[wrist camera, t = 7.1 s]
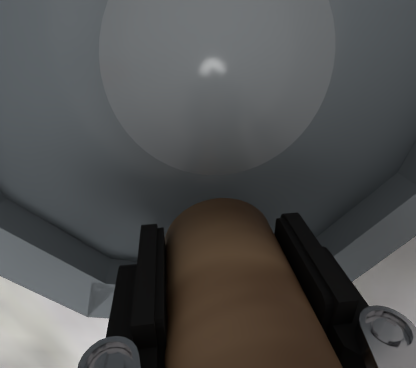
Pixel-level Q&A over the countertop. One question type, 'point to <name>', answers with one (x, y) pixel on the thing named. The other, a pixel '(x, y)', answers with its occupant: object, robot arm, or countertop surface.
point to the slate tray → (132, 188)
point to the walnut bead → (236, 294)
